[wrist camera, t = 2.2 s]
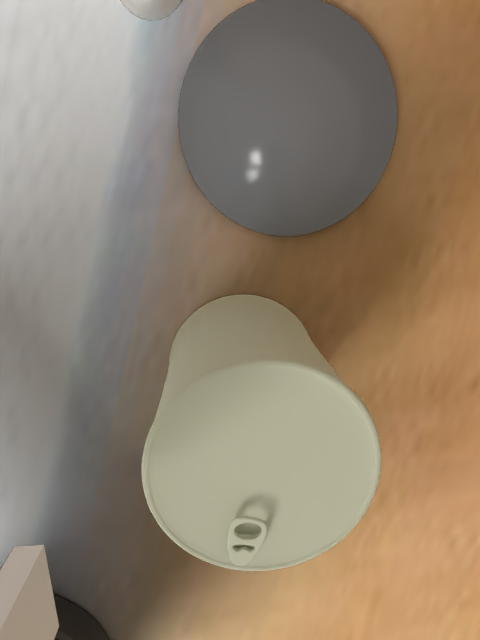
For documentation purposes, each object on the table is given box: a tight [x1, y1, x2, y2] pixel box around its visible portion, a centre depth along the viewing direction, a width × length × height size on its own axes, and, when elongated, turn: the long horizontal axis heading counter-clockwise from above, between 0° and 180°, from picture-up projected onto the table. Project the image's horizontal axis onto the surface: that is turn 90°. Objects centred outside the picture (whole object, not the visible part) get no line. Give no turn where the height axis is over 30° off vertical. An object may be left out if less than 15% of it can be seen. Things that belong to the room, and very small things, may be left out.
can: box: [141, 294, 381, 571], centre depth 21 cm, size 9×9×12 cm
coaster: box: [178, 0, 397, 236], centre depth 23 cm, size 12×12×1 cm
